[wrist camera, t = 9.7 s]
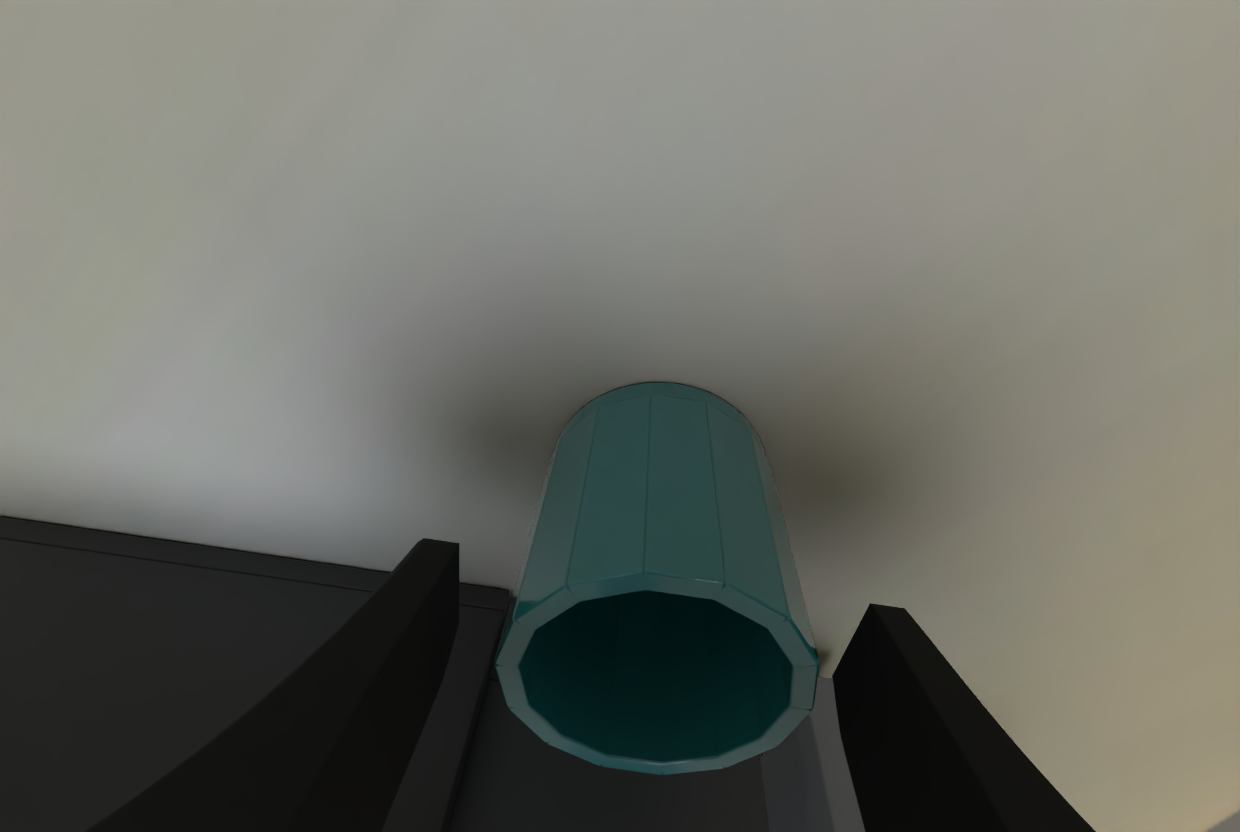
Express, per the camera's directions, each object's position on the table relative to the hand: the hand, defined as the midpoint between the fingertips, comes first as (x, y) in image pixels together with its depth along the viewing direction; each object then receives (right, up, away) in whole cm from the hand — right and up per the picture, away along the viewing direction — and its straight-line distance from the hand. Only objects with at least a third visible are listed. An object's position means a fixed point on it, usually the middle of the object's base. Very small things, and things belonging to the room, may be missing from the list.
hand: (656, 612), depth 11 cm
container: (0, +2, +3) cm, 4 cm away
